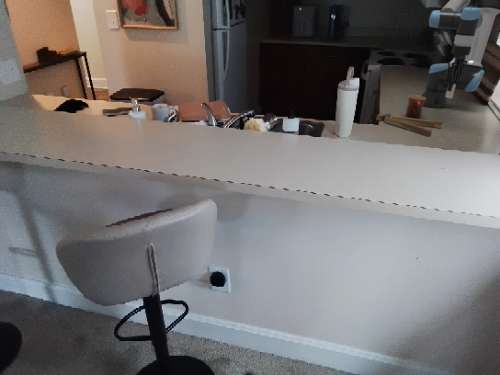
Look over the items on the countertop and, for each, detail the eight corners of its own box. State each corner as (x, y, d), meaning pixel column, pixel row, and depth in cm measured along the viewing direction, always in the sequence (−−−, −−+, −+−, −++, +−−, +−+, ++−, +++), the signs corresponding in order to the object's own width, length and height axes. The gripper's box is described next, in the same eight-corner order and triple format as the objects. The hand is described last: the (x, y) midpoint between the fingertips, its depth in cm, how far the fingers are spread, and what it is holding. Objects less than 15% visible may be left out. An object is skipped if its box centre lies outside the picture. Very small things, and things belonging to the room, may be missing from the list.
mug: (402, 113, 205) (406, 94, 201) (419, 115, 204) (424, 96, 199) (406, 120, 195) (410, 100, 190) (424, 121, 194) (429, 101, 189)
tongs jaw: (391, 120, 194) (392, 114, 192) (440, 126, 186) (441, 121, 185) (390, 121, 191) (391, 116, 190) (440, 128, 184) (442, 122, 183)
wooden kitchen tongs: (382, 118, 197) (383, 112, 195) (434, 134, 176) (436, 127, 175) (376, 120, 194) (377, 113, 193) (428, 136, 174) (430, 129, 172)
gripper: (461, 43, 178) (448, 94, 189) (446, 45, 171) (433, 97, 182) (477, 45, 173) (463, 97, 184) (463, 47, 166) (448, 101, 177)
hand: (448, 97), depth 183 cm, fingers closed
